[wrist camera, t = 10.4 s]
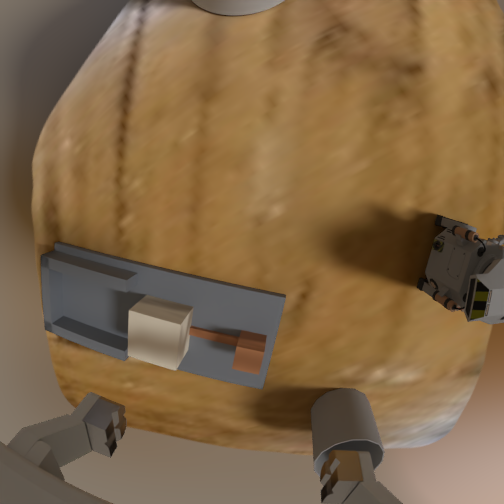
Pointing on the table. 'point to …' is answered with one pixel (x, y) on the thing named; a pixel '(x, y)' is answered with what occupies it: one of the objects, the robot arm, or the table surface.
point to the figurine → (466, 272)
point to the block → (182, 336)
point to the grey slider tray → (161, 286)
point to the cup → (344, 426)
